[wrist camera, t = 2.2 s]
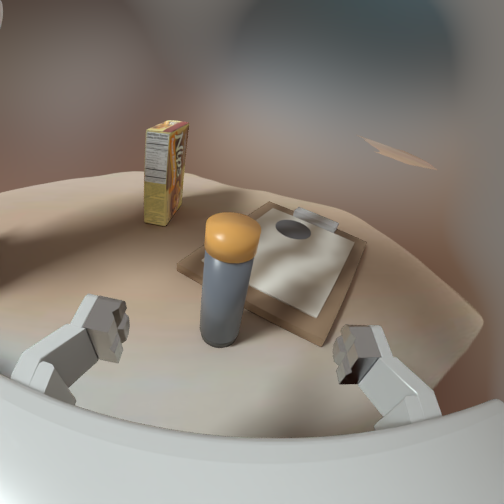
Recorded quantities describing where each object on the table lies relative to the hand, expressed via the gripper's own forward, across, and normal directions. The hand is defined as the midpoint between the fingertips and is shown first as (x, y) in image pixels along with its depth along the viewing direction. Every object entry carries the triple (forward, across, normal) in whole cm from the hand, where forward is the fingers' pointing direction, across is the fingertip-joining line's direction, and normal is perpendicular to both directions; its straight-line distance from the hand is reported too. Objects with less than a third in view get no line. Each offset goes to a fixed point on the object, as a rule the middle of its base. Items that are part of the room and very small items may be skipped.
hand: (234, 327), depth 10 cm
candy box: (+36, +12, +16) cm, 42 cm away
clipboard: (+28, -8, +16) cm, 33 cm away
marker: (+12, 0, +16) cm, 20 cm away
